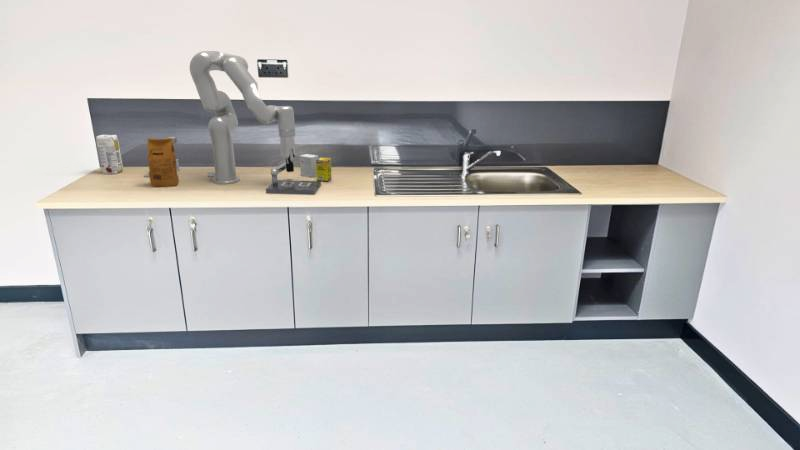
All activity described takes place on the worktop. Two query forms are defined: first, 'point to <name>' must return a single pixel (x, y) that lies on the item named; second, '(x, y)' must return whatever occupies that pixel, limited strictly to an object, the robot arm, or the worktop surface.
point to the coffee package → (162, 162)
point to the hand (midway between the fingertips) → (290, 171)
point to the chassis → (293, 187)
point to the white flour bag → (109, 154)
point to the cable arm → (278, 169)
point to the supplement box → (323, 169)
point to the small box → (308, 165)
